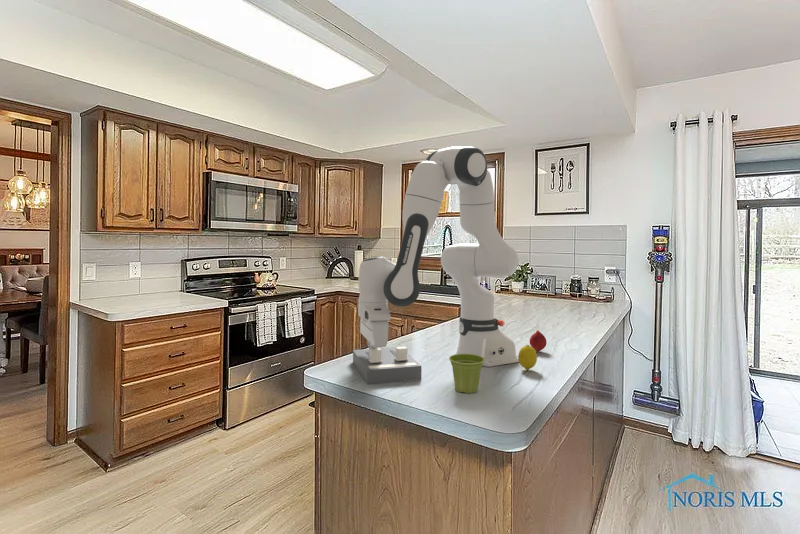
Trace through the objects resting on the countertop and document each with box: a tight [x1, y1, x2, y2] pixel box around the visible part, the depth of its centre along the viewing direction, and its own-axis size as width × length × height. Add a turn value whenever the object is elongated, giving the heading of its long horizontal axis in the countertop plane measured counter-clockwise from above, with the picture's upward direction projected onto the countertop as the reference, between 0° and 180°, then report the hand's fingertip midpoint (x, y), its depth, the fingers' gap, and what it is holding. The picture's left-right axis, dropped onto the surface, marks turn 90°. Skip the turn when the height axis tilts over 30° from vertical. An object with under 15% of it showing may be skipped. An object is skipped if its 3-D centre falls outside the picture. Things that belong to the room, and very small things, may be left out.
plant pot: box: [448, 354, 485, 394], centre depth 116 cm, size 9×9×9 cm
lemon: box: [518, 344, 538, 371], centre depth 134 cm, size 6×6×8 cm
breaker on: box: [394, 346, 409, 361], centre depth 129 cm, size 4×3×4 cm
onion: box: [529, 329, 547, 353], centre depth 156 cm, size 6×6×8 cm
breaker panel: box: [352, 346, 422, 385], centre depth 132 cm, size 16×22×4 cm
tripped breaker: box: [368, 348, 383, 363], centre depth 127 cm, size 4×3×4 cm
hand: (372, 355), depth 131 cm, fingers closed
